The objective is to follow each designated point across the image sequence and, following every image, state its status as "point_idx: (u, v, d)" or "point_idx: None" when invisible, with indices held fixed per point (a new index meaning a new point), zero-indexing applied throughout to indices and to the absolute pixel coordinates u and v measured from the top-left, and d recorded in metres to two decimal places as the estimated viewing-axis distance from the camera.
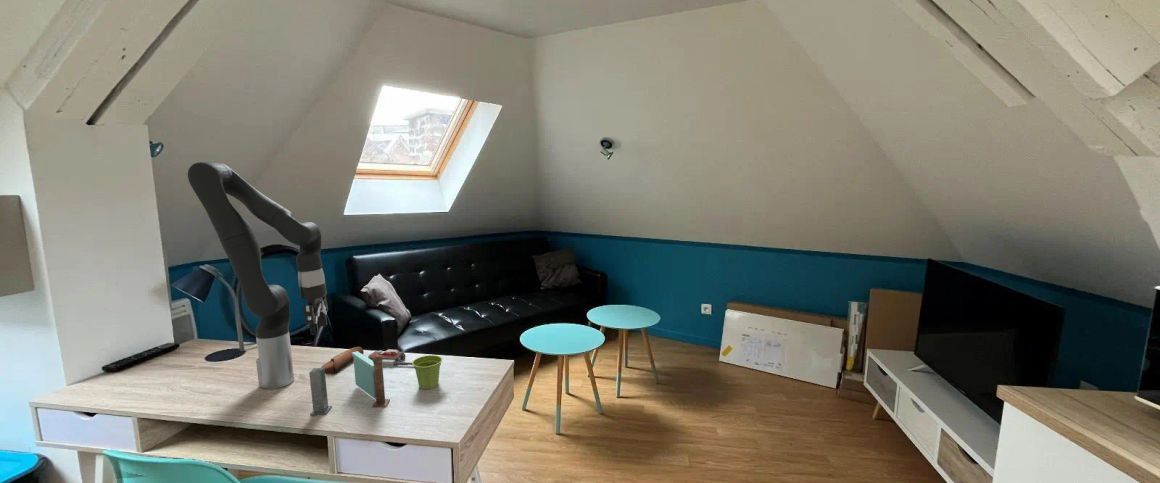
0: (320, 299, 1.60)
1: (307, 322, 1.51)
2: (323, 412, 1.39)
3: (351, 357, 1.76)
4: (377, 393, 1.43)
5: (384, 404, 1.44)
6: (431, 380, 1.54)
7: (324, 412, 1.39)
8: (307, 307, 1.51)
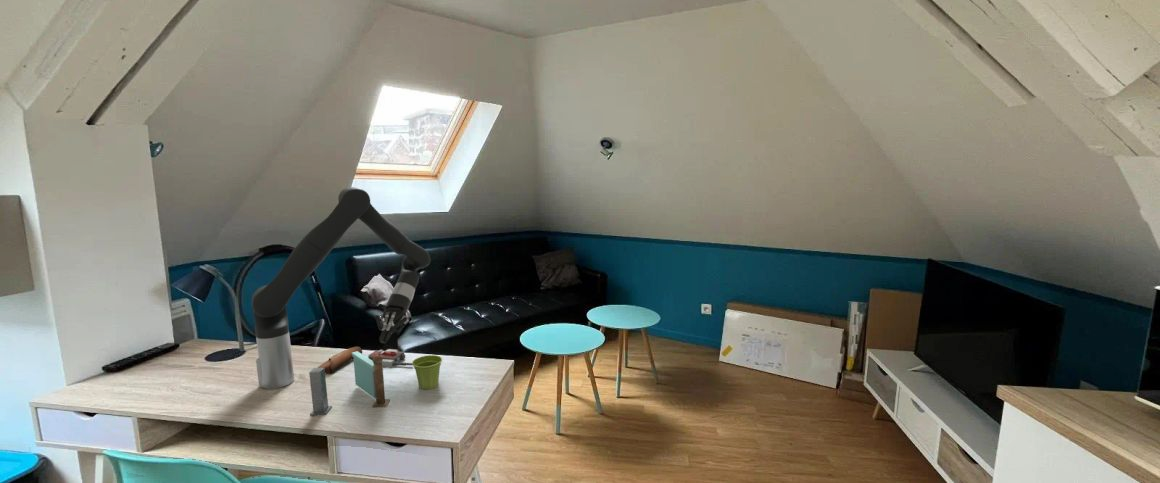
0: None
1: (394, 329, 1.64)
2: (323, 412, 1.39)
3: (349, 357, 1.76)
4: (377, 393, 1.43)
5: (384, 404, 1.44)
6: (431, 380, 1.54)
7: (324, 412, 1.39)
8: (407, 320, 1.66)
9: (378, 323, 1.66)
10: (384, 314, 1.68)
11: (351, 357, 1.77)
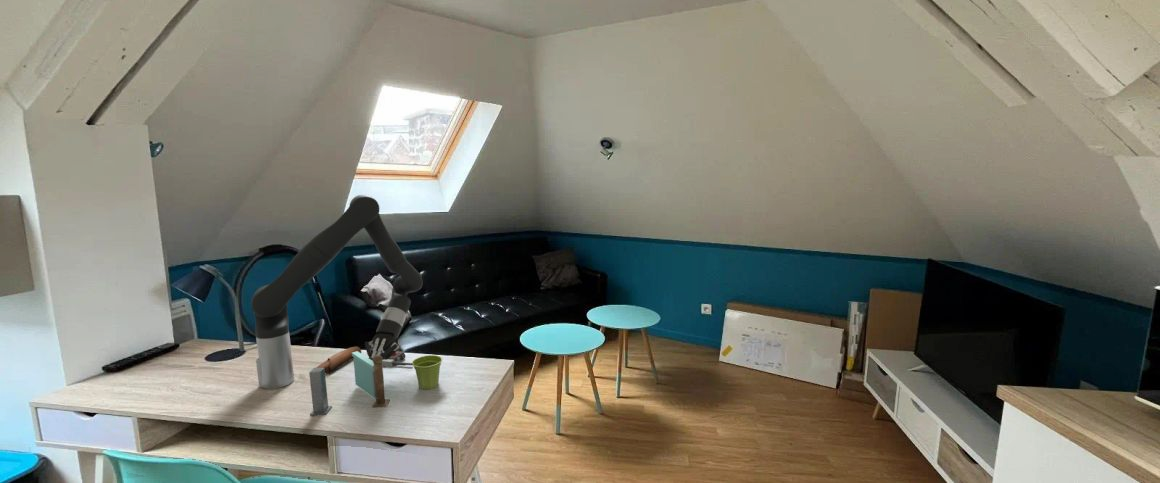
0: None
1: (384, 357, 1.59)
2: (323, 412, 1.39)
3: (348, 357, 1.76)
4: (377, 393, 1.43)
5: (384, 404, 1.44)
6: (431, 380, 1.54)
7: (324, 412, 1.39)
8: (397, 348, 1.61)
9: (367, 350, 1.61)
10: (374, 340, 1.63)
11: (350, 357, 1.77)
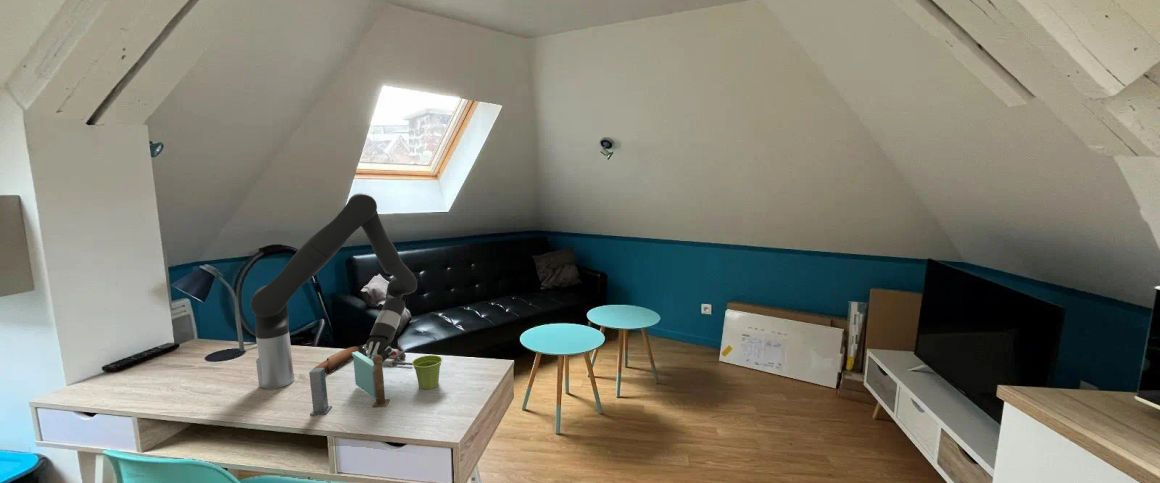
0: None
1: None
2: (323, 412, 1.39)
3: (347, 357, 1.76)
4: (377, 393, 1.43)
5: (384, 404, 1.44)
6: (431, 380, 1.54)
7: (324, 412, 1.39)
8: (391, 351, 1.58)
9: None
10: (368, 344, 1.60)
11: (349, 357, 1.77)
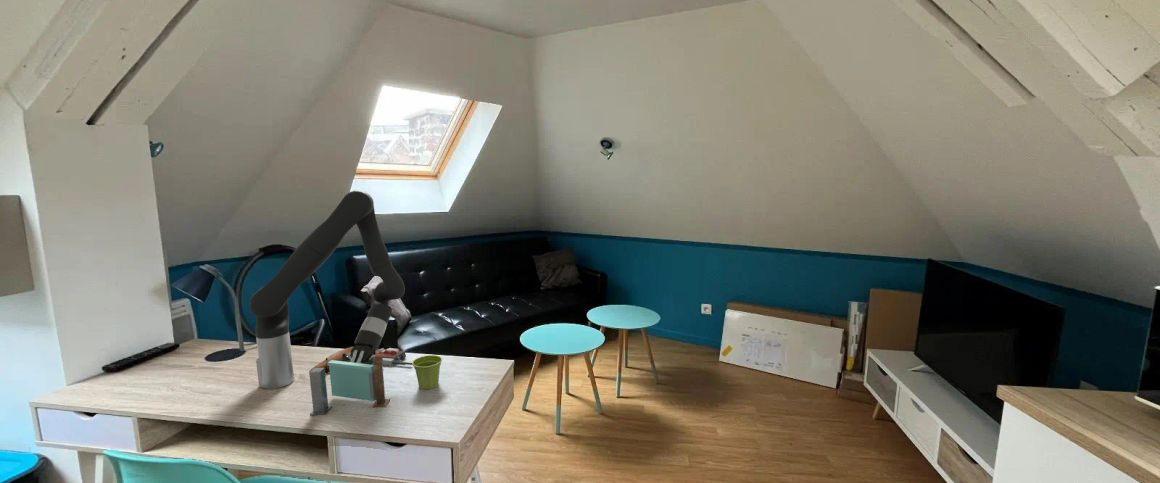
0: None
1: None
2: (323, 412, 1.39)
3: None
4: (377, 393, 1.43)
5: (384, 404, 1.44)
6: (431, 380, 1.54)
7: (324, 412, 1.39)
8: None
9: None
10: (352, 352, 1.54)
11: None
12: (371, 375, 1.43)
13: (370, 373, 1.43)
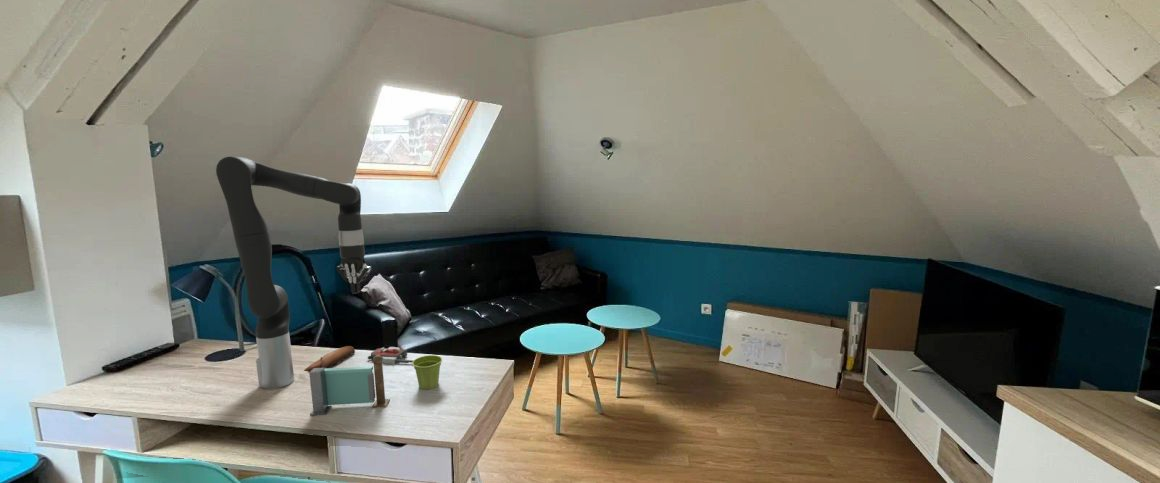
0: None
1: (361, 280, 1.61)
2: (323, 412, 1.39)
3: (340, 356, 1.77)
4: (377, 393, 1.43)
5: (384, 404, 1.44)
6: (431, 380, 1.54)
7: (324, 412, 1.39)
8: (369, 269, 1.60)
9: (342, 275, 1.61)
10: (343, 265, 1.61)
11: (343, 356, 1.78)
12: (371, 376, 1.43)
13: (369, 374, 1.43)
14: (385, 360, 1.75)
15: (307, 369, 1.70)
